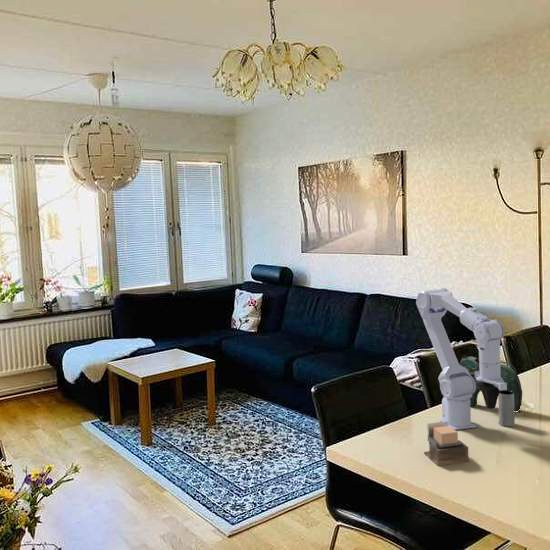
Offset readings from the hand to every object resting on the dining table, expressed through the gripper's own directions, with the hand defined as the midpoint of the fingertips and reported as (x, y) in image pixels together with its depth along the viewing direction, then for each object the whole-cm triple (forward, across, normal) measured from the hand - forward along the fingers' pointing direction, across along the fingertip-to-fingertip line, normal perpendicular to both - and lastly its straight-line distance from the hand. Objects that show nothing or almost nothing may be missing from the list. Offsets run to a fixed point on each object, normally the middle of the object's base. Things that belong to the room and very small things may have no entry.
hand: (490, 407), depth 171 cm
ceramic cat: (+10, -26, +14) cm, 31 cm away
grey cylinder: (+10, -10, +11) cm, 17 cm away
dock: (+9, +8, -18) cm, 22 cm away
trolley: (+8, +8, -18) cm, 21 cm away
